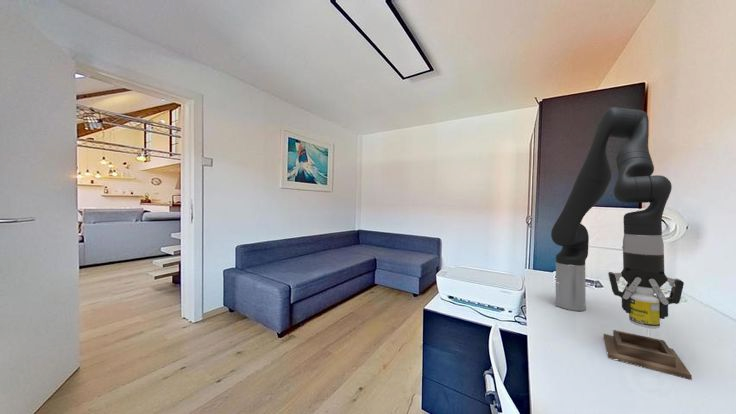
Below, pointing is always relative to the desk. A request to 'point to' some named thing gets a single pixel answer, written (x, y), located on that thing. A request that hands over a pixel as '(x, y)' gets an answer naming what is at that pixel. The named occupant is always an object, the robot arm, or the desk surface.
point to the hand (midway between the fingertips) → (644, 314)
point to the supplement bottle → (644, 308)
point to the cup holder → (645, 353)
